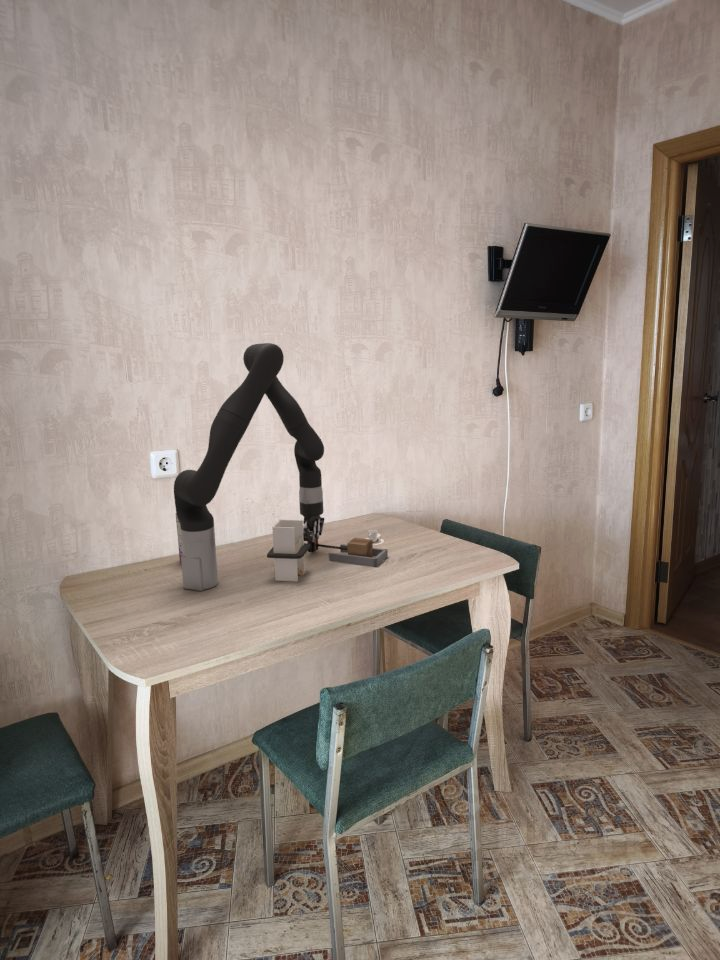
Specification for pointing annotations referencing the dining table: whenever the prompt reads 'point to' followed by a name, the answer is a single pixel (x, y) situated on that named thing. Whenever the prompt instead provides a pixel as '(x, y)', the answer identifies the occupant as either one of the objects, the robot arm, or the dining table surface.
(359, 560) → the tray
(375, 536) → the teacup and saucer
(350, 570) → the dining table surface
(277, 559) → the white collared box
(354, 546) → the walnut block
